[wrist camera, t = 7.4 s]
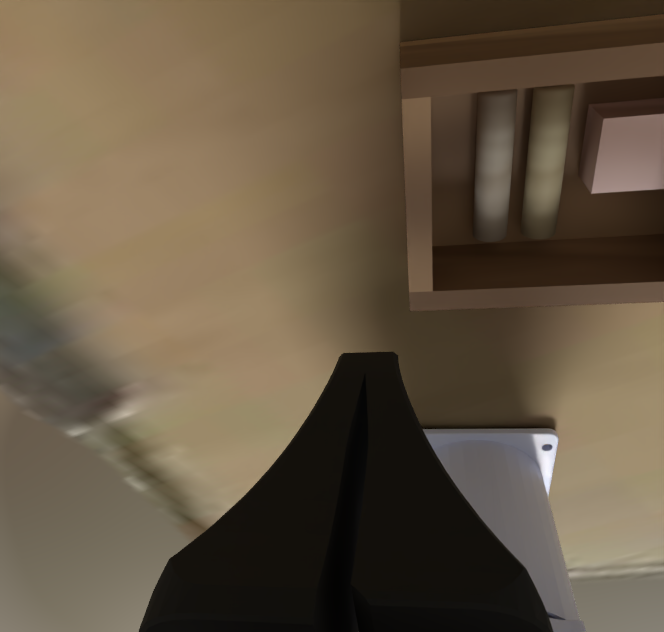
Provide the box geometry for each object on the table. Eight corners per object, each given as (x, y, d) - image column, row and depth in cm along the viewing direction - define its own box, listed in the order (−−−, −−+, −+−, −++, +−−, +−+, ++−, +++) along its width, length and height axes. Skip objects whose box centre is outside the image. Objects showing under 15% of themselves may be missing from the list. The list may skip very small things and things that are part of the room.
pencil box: (844, 233, 20) (929, 292, 17) (407, 255, 23) (409, 311, 19) (961, -18, 16) (1105, -2, 13) (399, 41, 18) (400, 68, 15)
